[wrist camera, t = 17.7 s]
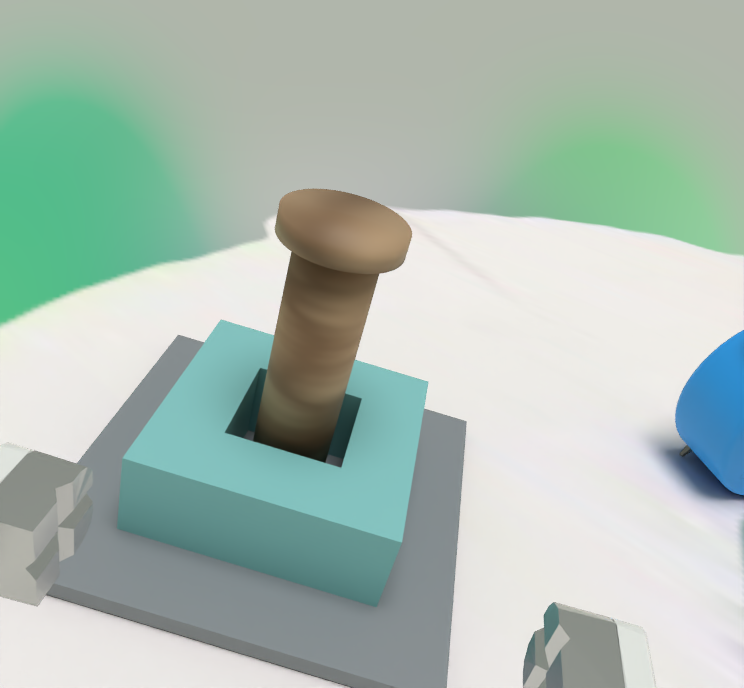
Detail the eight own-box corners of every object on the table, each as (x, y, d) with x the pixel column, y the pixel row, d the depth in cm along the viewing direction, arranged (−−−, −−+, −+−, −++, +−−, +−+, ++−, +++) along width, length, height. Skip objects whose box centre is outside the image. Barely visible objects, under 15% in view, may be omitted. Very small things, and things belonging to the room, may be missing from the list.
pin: (343, 459, 45) (418, 213, 36) (322, 532, 40) (403, 264, 31) (247, 431, 45) (297, 177, 36) (213, 500, 40) (262, 222, 31)
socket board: (462, 431, 52) (488, 366, 49) (439, 713, 34) (479, 638, 31) (177, 345, 53) (185, 275, 49) (-4, 579, 34) (-9, 490, 31)
